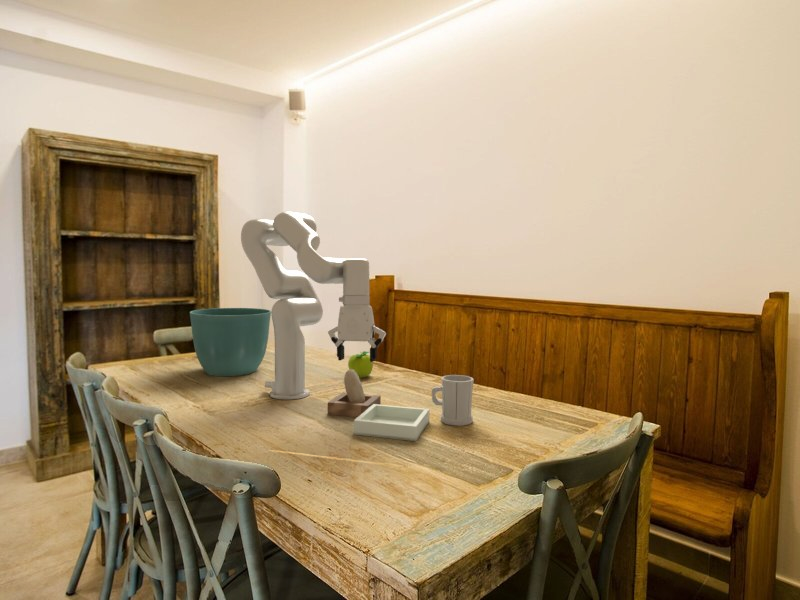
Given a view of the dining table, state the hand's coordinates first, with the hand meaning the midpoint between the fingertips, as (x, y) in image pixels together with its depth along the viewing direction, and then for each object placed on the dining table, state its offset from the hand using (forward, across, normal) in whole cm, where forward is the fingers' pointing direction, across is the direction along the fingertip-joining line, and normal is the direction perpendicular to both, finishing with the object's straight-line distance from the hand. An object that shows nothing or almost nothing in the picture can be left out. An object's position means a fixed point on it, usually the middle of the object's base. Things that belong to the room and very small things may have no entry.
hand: (356, 360), depth 145 cm
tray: (+15, +14, -12) cm, 24 cm away
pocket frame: (+15, -1, 0) cm, 15 cm away
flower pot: (+13, -65, +35) cm, 75 cm away
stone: (+15, -1, 0) cm, 15 cm away
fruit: (+14, -14, +42) cm, 47 cm away
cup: (+16, +28, -1) cm, 33 cm away
